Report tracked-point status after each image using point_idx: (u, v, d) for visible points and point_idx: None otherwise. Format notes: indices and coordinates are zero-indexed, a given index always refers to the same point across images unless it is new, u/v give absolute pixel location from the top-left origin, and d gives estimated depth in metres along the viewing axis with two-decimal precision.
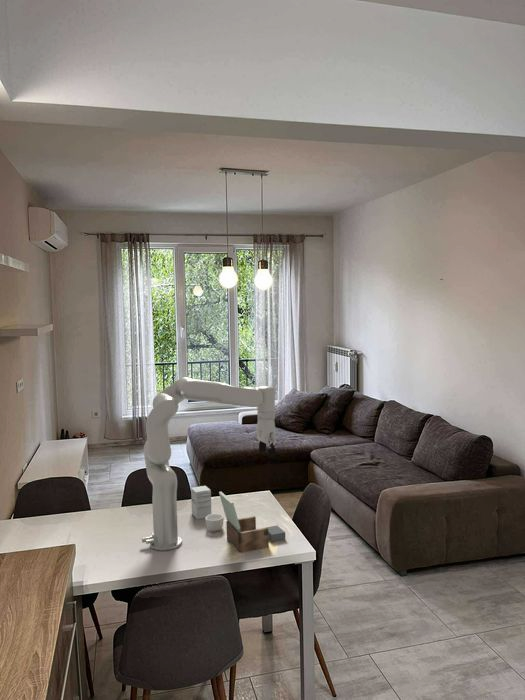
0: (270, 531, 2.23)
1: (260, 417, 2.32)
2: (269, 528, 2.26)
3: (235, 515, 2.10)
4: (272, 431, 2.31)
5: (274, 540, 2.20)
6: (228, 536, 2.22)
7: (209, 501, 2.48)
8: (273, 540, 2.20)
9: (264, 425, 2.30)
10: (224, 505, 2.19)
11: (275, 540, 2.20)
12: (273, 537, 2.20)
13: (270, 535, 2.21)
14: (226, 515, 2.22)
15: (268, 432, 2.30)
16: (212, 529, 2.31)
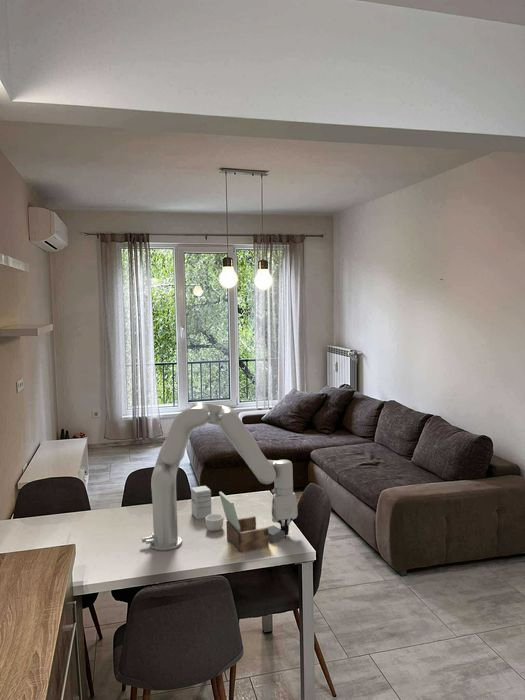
0: (269, 531, 2.23)
1: (290, 493, 2.23)
2: None
3: (235, 515, 2.10)
4: None
5: (274, 540, 2.20)
6: (228, 536, 2.22)
7: (209, 501, 2.48)
8: (274, 540, 2.20)
9: (294, 499, 2.25)
10: (224, 505, 2.19)
11: (275, 540, 2.20)
12: (274, 537, 2.20)
13: (270, 535, 2.21)
14: (226, 515, 2.22)
15: None
16: (212, 529, 2.31)
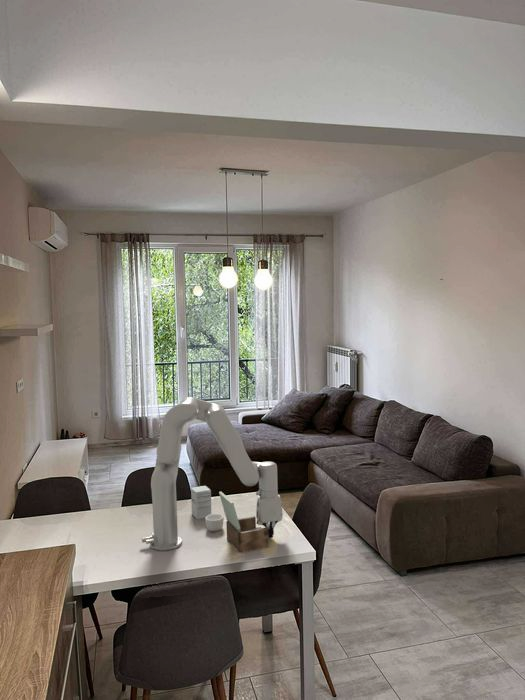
0: None
1: (275, 495, 2.20)
2: (252, 529, 2.25)
3: (235, 515, 2.10)
4: None
5: None
6: (228, 536, 2.22)
7: (209, 501, 2.48)
8: None
9: (279, 501, 2.22)
10: (224, 505, 2.19)
11: None
12: None
13: None
14: (226, 515, 2.22)
15: None
16: (212, 529, 2.31)
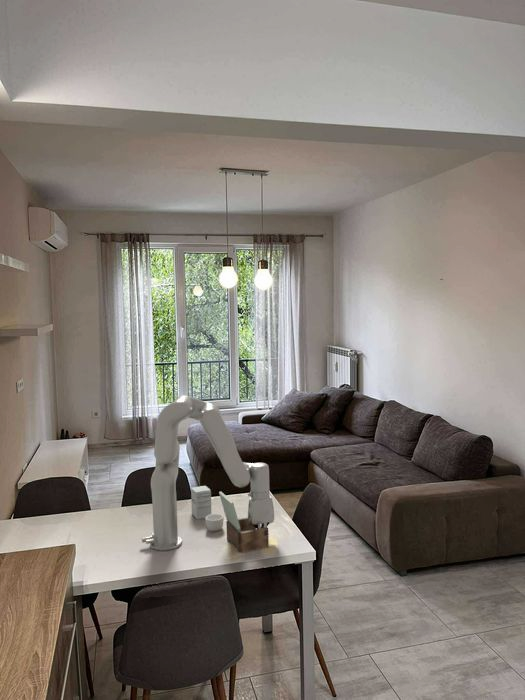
0: None
1: (267, 497, 2.19)
2: (244, 531, 2.24)
3: (235, 515, 2.10)
4: None
5: None
6: (228, 536, 2.22)
7: (209, 501, 2.48)
8: None
9: (271, 503, 2.20)
10: (224, 505, 2.19)
11: None
12: None
13: None
14: (226, 515, 2.22)
15: None
16: (212, 529, 2.31)
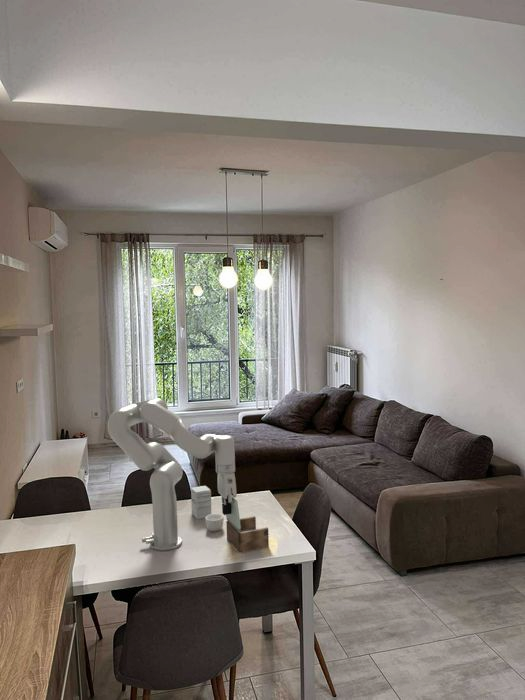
0: None
1: None
2: (242, 531, 2.23)
3: (237, 514, 2.10)
4: None
5: None
6: (228, 536, 2.22)
7: (209, 501, 2.48)
8: None
9: None
10: None
11: None
12: None
13: None
14: (227, 515, 2.22)
15: None
16: (212, 529, 2.31)
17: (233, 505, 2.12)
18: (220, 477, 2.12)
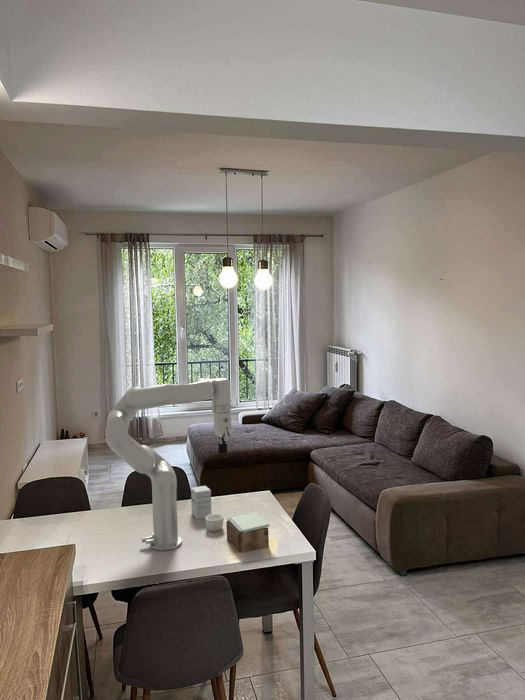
0: None
1: None
2: None
3: (257, 528, 2.13)
4: None
5: None
6: (228, 536, 2.22)
7: (209, 501, 2.48)
8: None
9: None
10: (247, 517, 2.24)
11: None
12: None
13: None
14: (235, 518, 2.23)
15: None
16: (212, 529, 2.31)
17: (261, 523, 2.17)
18: (216, 417, 2.22)
